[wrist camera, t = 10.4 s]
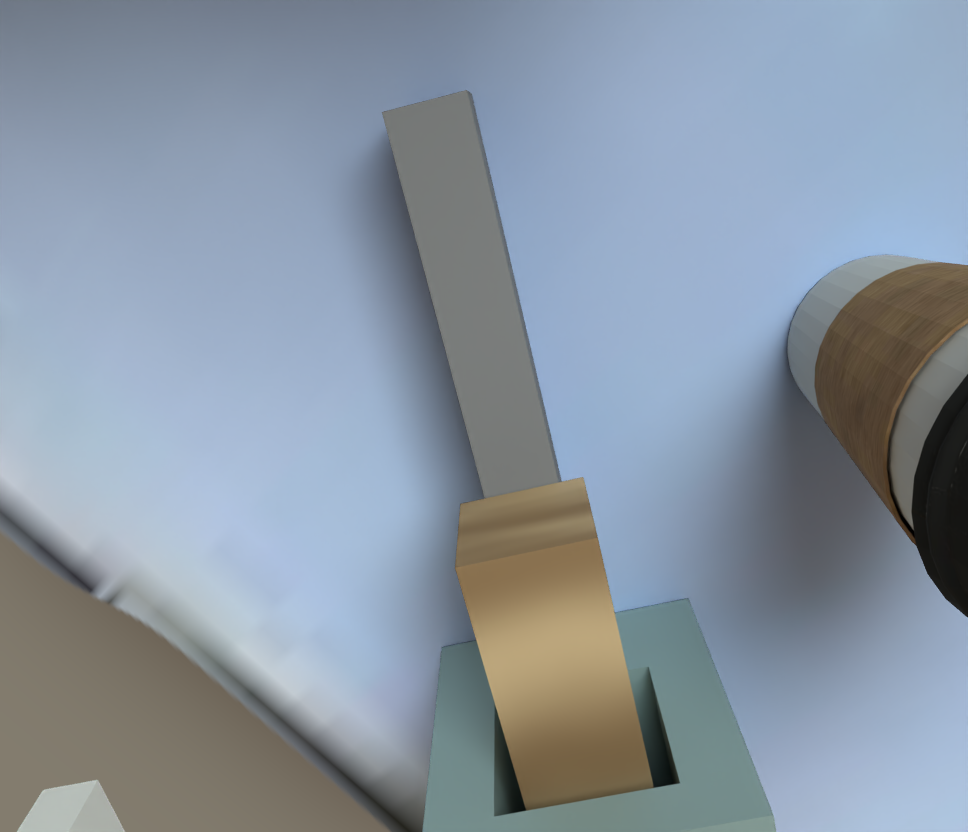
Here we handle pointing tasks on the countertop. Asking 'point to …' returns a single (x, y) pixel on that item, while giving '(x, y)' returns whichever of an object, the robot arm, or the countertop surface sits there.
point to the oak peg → (551, 644)
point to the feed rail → (473, 290)
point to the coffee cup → (897, 393)
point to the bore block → (665, 730)
